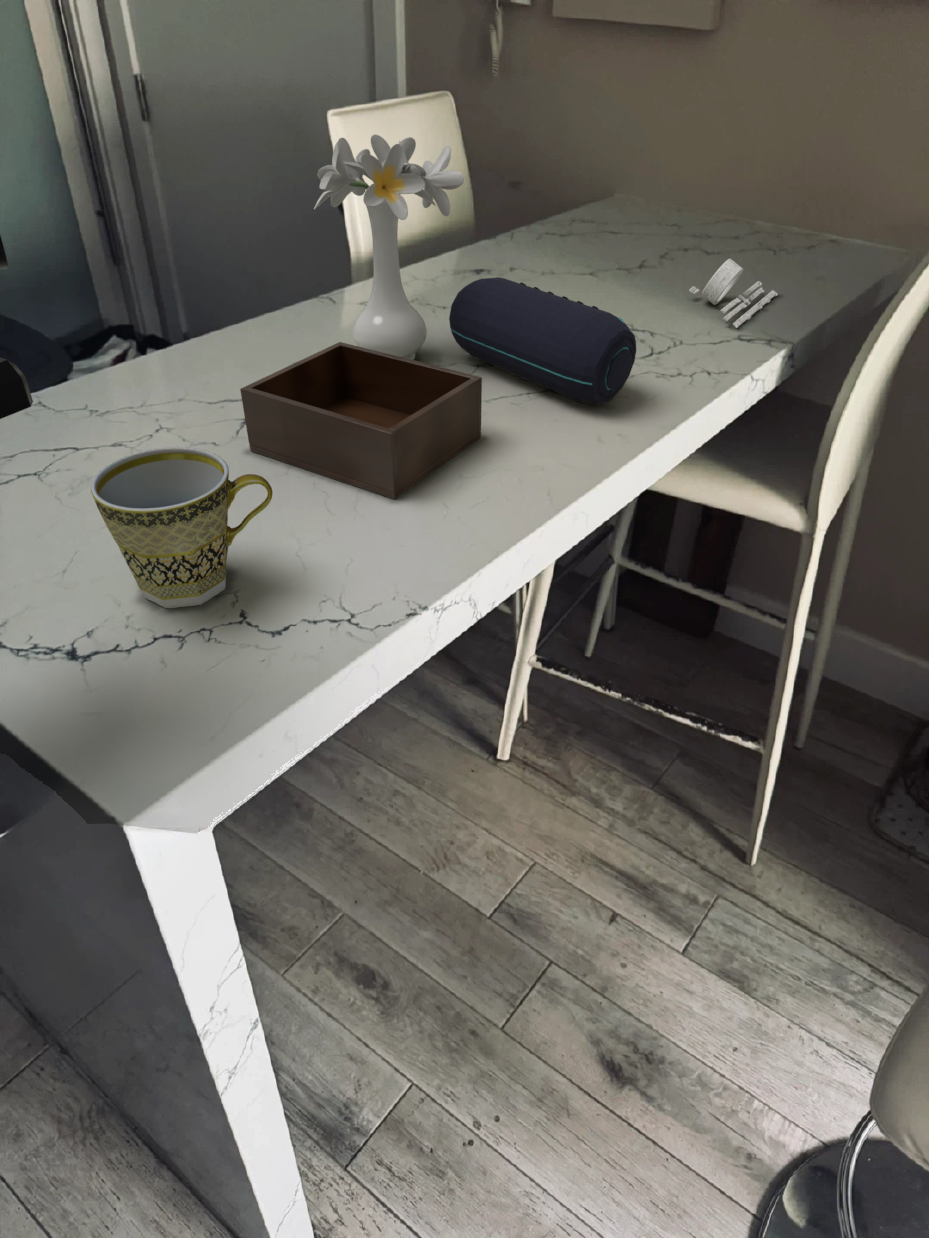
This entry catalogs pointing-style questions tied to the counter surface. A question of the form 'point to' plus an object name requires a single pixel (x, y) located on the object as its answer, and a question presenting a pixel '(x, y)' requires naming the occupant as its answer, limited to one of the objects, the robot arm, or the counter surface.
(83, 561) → the counter surface
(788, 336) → the counter surface
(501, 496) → the counter surface
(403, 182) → the flower vase
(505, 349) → the portable speaker
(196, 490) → the ceramic cup
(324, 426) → the crate
